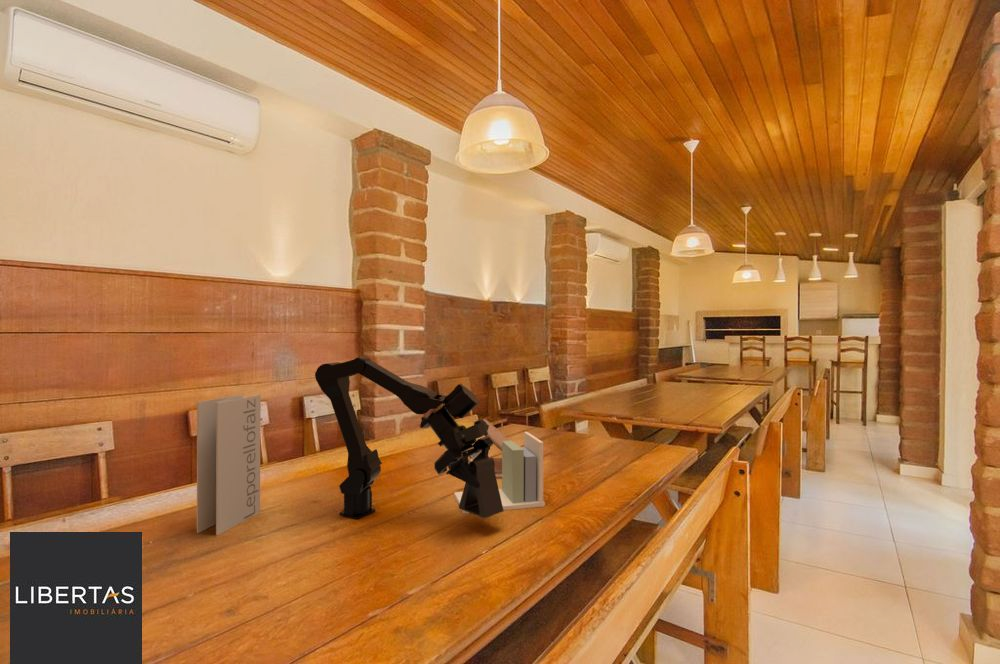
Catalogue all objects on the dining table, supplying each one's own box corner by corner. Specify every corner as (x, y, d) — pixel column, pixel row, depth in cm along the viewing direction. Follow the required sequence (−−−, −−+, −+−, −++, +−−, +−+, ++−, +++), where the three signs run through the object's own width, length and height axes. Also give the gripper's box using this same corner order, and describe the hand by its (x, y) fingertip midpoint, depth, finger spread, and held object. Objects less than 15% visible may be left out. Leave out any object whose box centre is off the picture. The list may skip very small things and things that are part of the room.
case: (528, 479, 153) (529, 428, 153) (462, 478, 153) (462, 428, 153) (526, 462, 173) (526, 417, 173) (467, 462, 174) (468, 417, 174)
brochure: (217, 535, 110) (217, 402, 110) (196, 533, 111) (196, 402, 111) (260, 512, 124) (260, 394, 124) (241, 510, 125) (241, 394, 125)
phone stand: (503, 511, 114) (504, 460, 114) (485, 518, 110) (486, 465, 110) (476, 502, 120) (477, 453, 120) (458, 508, 116) (459, 458, 116)
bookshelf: (463, 513, 123) (463, 447, 123) (454, 495, 137) (454, 435, 137) (544, 506, 129) (545, 442, 129) (528, 489, 142) (528, 431, 142)
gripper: (445, 415, 108) (487, 472, 103) (487, 404, 125) (525, 453, 120) (417, 446, 112) (456, 502, 107) (461, 432, 129) (497, 480, 123)
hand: (486, 483), depth 114 cm, fingers closed on phone stand, 6 cm apart
